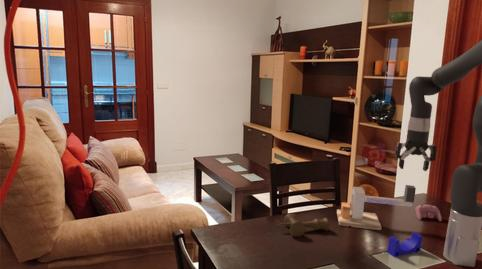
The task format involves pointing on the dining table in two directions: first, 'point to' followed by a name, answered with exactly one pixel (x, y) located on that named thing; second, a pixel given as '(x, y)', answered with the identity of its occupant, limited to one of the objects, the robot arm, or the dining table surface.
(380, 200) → the shaft
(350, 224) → the stand
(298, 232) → the kendama
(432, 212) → the video game controller
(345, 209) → the block
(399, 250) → the cable clip
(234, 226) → the dining table surface
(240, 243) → the dining table surface
